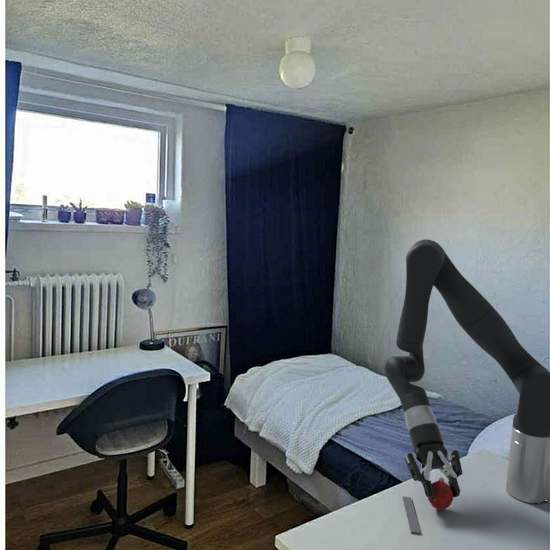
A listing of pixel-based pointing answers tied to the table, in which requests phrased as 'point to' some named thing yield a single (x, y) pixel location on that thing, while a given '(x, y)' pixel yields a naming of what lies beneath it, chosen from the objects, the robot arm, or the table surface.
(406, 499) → the flat gray rectangular bar
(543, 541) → the table surface
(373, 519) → the table surface
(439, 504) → the onion
